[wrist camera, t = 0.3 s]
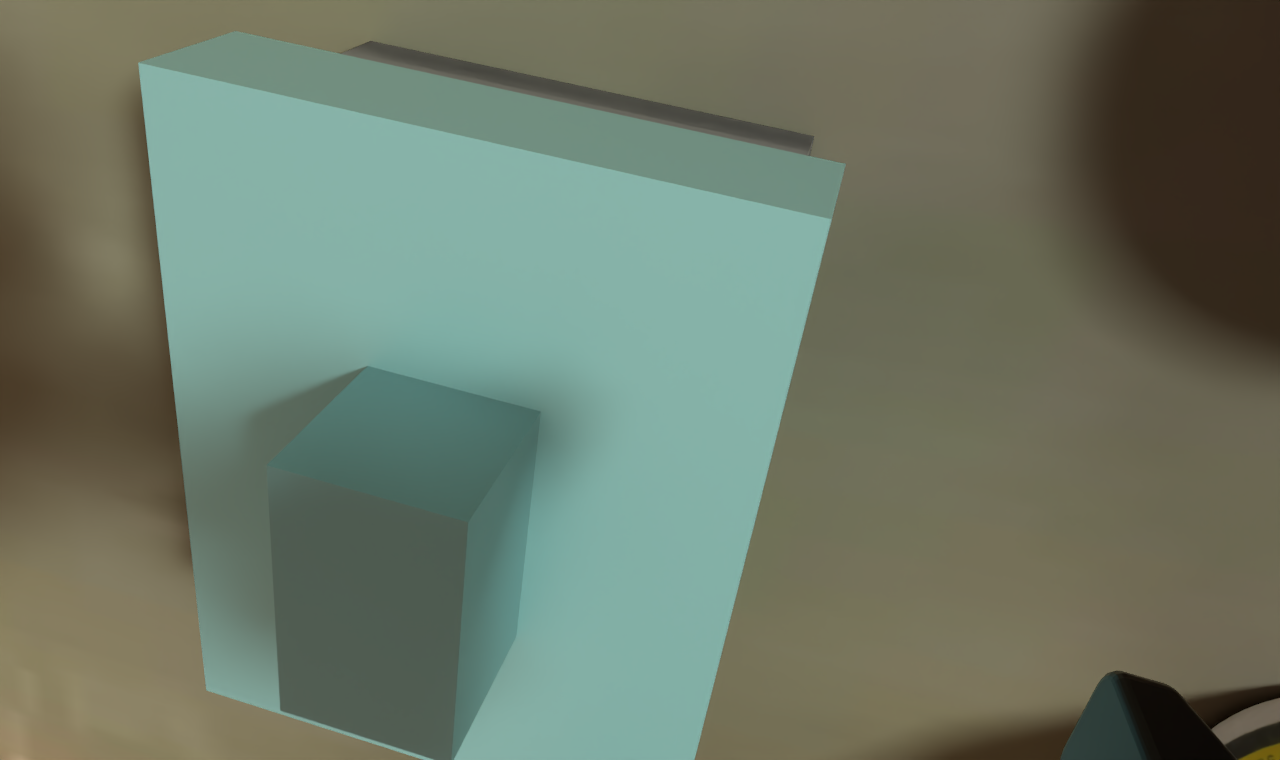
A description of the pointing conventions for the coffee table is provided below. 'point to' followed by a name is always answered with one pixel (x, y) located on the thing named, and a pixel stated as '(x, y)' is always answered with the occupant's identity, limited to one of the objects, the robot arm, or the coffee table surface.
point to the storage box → (586, 97)
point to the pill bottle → (1252, 732)
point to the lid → (469, 395)
